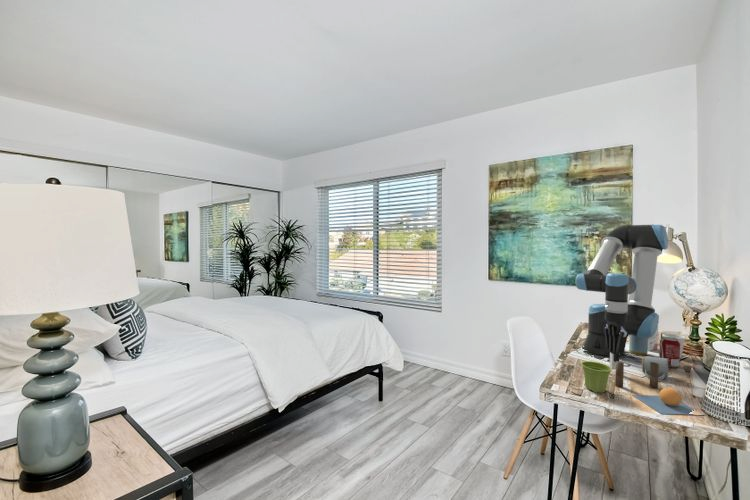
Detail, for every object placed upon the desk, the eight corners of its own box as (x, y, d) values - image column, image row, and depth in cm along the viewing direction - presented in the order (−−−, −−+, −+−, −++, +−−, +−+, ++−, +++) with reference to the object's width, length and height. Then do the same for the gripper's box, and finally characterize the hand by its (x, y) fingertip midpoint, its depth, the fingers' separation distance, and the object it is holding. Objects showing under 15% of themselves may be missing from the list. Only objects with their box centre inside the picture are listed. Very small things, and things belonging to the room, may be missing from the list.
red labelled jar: (683, 369, 146) (684, 341, 146) (664, 367, 147) (665, 340, 147) (672, 363, 152) (673, 336, 152) (655, 362, 154) (656, 335, 153)
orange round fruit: (687, 408, 110) (672, 403, 116) (684, 390, 111) (670, 386, 116) (670, 408, 110) (656, 403, 116) (667, 390, 111) (654, 386, 116)
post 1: (620, 384, 129) (621, 361, 129) (624, 387, 127) (625, 363, 126) (613, 384, 129) (614, 361, 129) (617, 387, 127) (618, 363, 126)
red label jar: (682, 356, 163) (683, 335, 162) (686, 361, 155) (687, 339, 155) (660, 352, 167) (660, 332, 167) (663, 357, 160) (663, 336, 160)
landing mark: (670, 396, 120) (670, 396, 120) (704, 415, 107) (704, 415, 107) (632, 395, 120) (632, 394, 120) (660, 414, 107) (661, 413, 107)
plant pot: (603, 385, 129) (604, 362, 129) (616, 396, 120) (617, 371, 119) (576, 382, 131) (577, 360, 130) (586, 393, 121) (587, 369, 121)
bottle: (639, 350, 169) (640, 320, 169) (651, 355, 162) (652, 324, 162) (625, 350, 169) (626, 320, 169) (636, 355, 162) (637, 324, 162)
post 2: (654, 386, 128) (655, 362, 128) (659, 388, 126) (660, 364, 126) (647, 385, 128) (648, 362, 128) (652, 388, 126) (653, 364, 126)
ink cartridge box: (646, 346, 177) (647, 317, 177) (657, 348, 173) (658, 320, 173) (637, 348, 174) (638, 319, 173) (648, 351, 169) (649, 321, 169)
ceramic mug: (642, 370, 144) (643, 352, 144) (668, 375, 139) (669, 356, 138) (640, 378, 136) (641, 359, 136) (668, 384, 131) (668, 364, 130)
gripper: (596, 307, 146) (595, 362, 147) (616, 314, 133) (614, 374, 134) (615, 308, 146) (613, 363, 147) (636, 315, 133) (634, 375, 134)
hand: (614, 368), depth 140 cm, fingers closed
